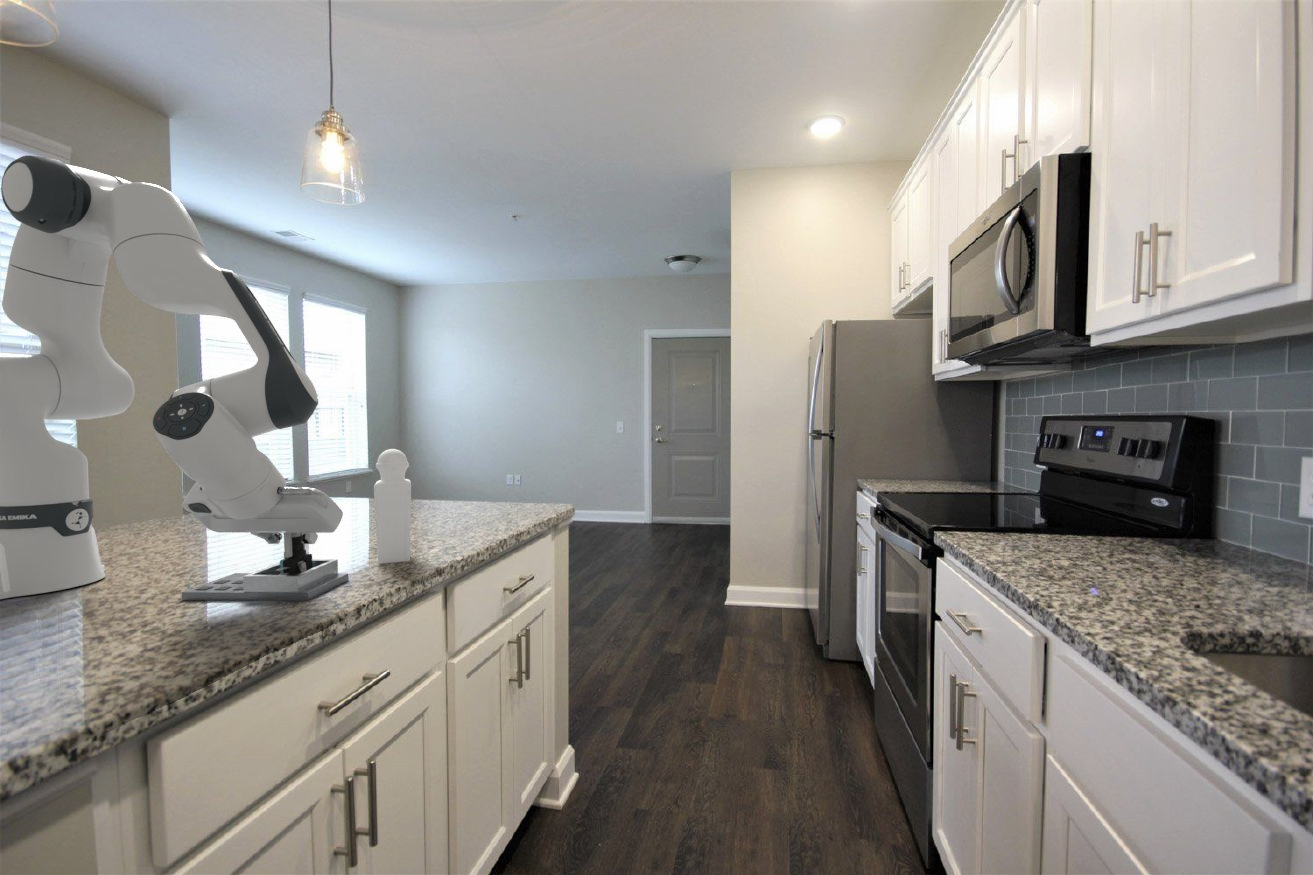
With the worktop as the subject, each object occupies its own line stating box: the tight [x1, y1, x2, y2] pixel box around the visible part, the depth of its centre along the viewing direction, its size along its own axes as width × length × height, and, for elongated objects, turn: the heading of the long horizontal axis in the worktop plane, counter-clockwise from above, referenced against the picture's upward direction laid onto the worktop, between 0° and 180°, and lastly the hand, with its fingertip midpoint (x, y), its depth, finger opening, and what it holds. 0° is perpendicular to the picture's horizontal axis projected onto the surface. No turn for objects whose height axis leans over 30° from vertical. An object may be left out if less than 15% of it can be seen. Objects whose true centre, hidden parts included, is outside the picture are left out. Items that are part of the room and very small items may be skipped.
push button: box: [276, 533, 313, 575], centre depth 94 cm, size 7×5×10 cm
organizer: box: [181, 558, 349, 601], centre depth 95 cm, size 20×11×4 cm, turn 88°
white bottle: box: [373, 448, 412, 565], centre depth 114 cm, size 6×6×22 cm
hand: (294, 540), depth 95 cm, fingers closed on push button, 4 cm apart
